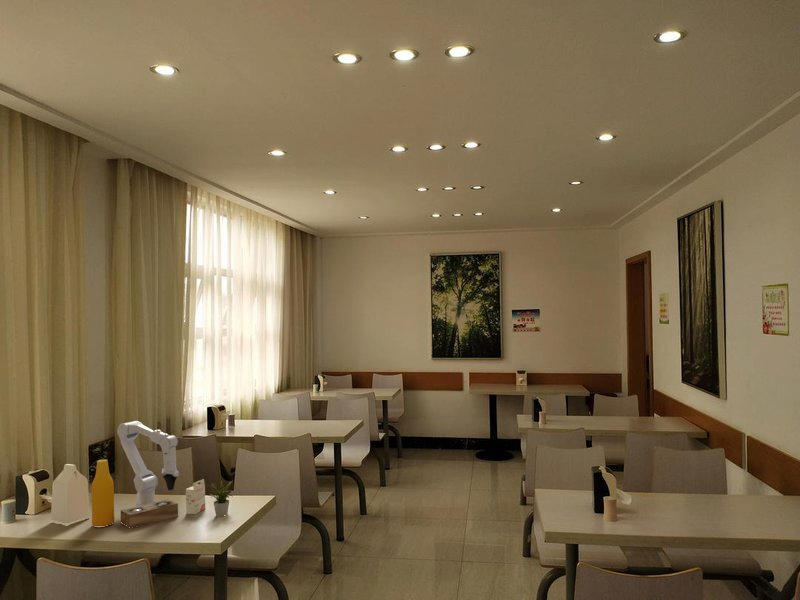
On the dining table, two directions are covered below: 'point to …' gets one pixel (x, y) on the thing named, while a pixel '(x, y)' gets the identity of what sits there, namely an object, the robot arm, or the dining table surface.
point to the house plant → (221, 500)
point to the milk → (70, 496)
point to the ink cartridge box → (195, 498)
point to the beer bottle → (102, 496)
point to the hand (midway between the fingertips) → (170, 489)
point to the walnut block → (149, 513)
